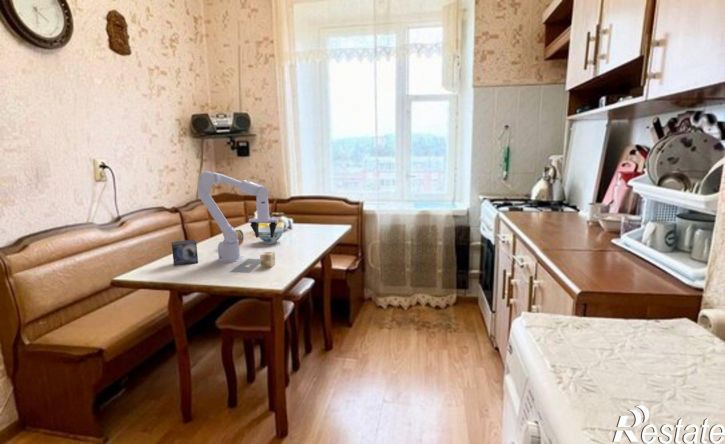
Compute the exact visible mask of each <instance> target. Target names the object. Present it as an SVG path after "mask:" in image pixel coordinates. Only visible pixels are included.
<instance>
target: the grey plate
mask: <svg viewBox="0 0 725 444" xmlns="http://www.w3.org/2000/svg"><path fill="white" fill-rule="evenodd" d="M259 265H261V261H260V258H247V259H246V260H245V261H243V262H242V263H240V264H239V265H237V266H236V267H234V268H233V269H231V270H230V271H229V273H241V274H243V273H249V274H250V273H251V272H252V271H253V270H255V269H256V268H257V267H258V266H259Z"/></svg>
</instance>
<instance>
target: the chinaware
mask: <svg viewBox="0 0 725 444" xmlns="http://www.w3.org/2000/svg"><path fill="white" fill-rule="evenodd" d="M258 230H259V237H258V238H259V239H260V240H261V241H263V242H264V244H268V245H272V244H277V242H278V240H279V239H281V237H282V236H283V233H284V227H282V226H276V228H275V231H274V237H273V238H271V233H270V227H269V226H261V227H259V228H258Z"/></svg>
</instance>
